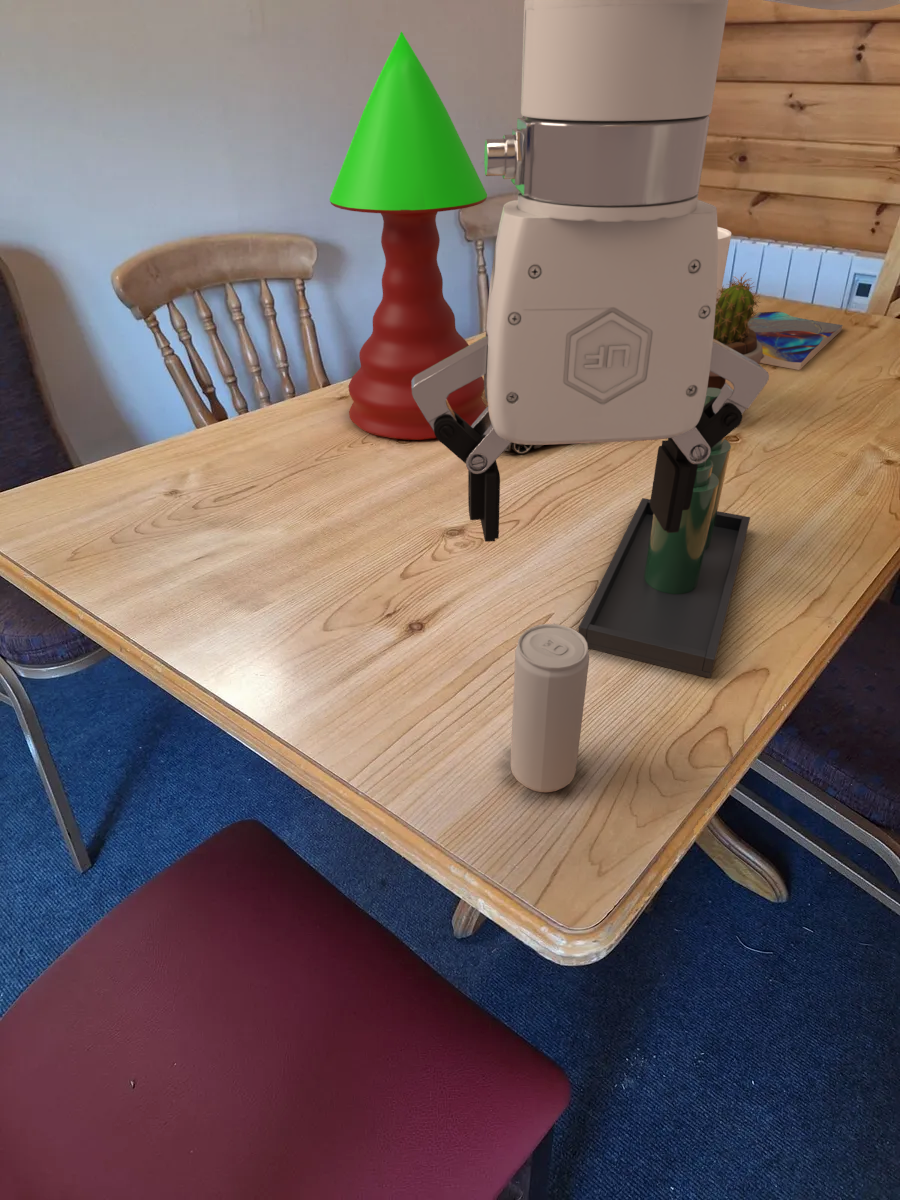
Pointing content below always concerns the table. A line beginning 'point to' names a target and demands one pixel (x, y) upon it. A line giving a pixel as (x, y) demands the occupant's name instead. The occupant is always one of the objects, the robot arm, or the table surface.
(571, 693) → the beverage can
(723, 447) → the far bottle
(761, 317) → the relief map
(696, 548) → the middle bottle
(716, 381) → the flowerpot
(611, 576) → the tray
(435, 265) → the table lamp
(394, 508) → the table surface
